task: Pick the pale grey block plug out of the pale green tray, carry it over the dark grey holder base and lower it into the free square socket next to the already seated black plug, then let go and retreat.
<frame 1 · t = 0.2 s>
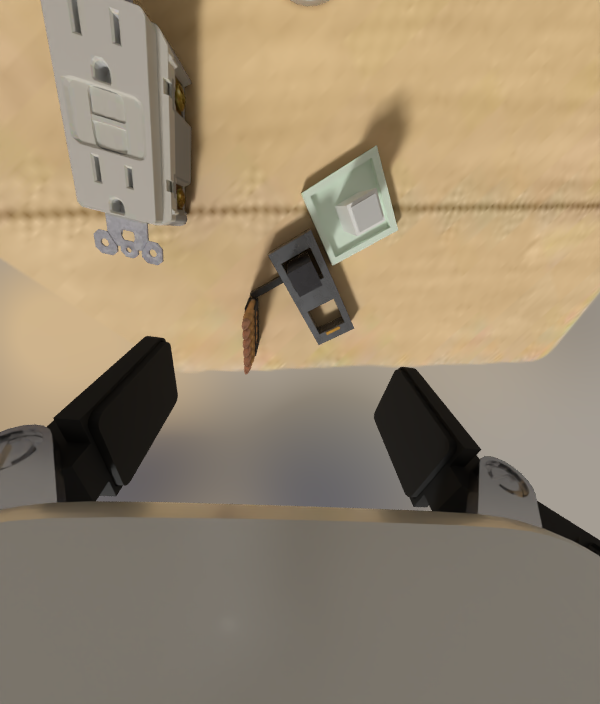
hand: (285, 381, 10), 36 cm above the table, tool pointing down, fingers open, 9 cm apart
grey plug: (350, 212, 37), point 1 cm above the table, touching tray
ammunition clip: (254, 322, 48), on the table
dark grey holder base: (313, 290, 45), on the table
tray: (349, 212, 38), on the table
electrical outlet: (153, 144, 32), on the table
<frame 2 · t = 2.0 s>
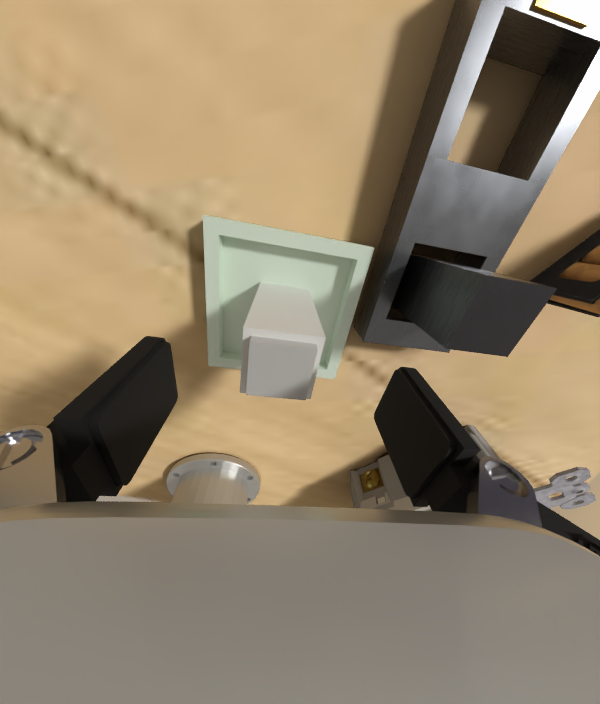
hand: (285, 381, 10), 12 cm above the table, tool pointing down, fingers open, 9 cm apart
grey plug: (282, 308, 20), point 1 cm above the table, touching tray
ammunition clip: (588, 245, 19), on the table
dark grey holder base: (441, 214, 17), on the table
tray: (282, 306, 20), on the table
electrical outlet: (411, 461, 34), on the table
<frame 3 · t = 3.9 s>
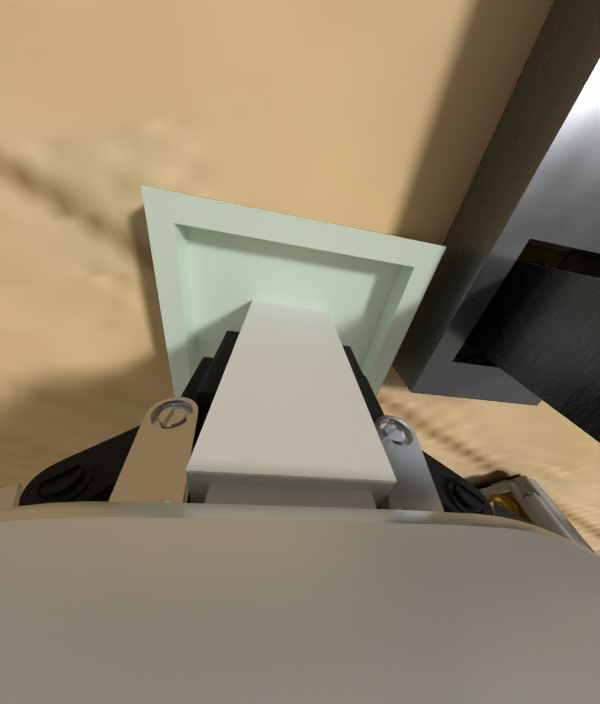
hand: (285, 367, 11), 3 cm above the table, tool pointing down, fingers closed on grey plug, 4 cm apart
grey plug: (286, 338, 13), point 1 cm above the table, touching gripper, tray
dark grey holder base: (556, 189, 10), on the table
tray: (286, 333, 13), on the table
electrical outlet: (442, 509, 27), on the table
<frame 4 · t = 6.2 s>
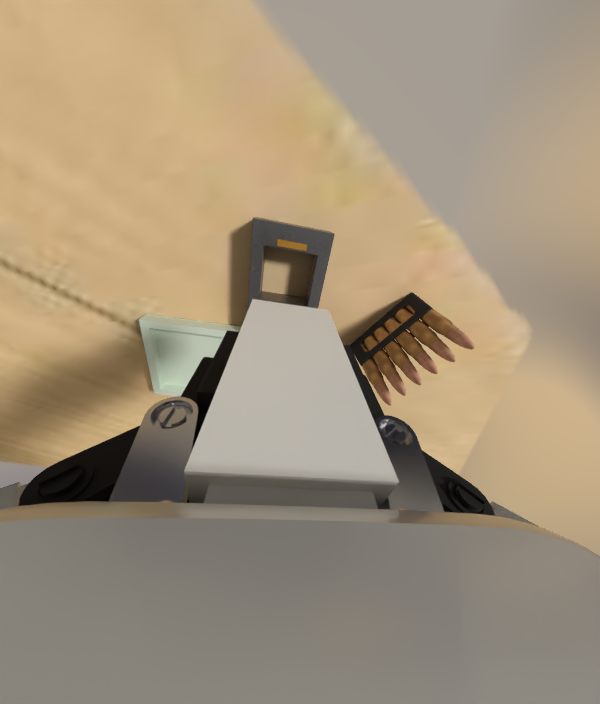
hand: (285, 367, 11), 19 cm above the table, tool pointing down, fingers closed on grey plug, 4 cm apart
grey plug: (286, 338, 13), point 17 cm above the table, touching gripper
ammunition clip: (382, 324, 32), on the table
dark grey holder base: (281, 311, 30), on the table
tray: (198, 358, 33), on the table
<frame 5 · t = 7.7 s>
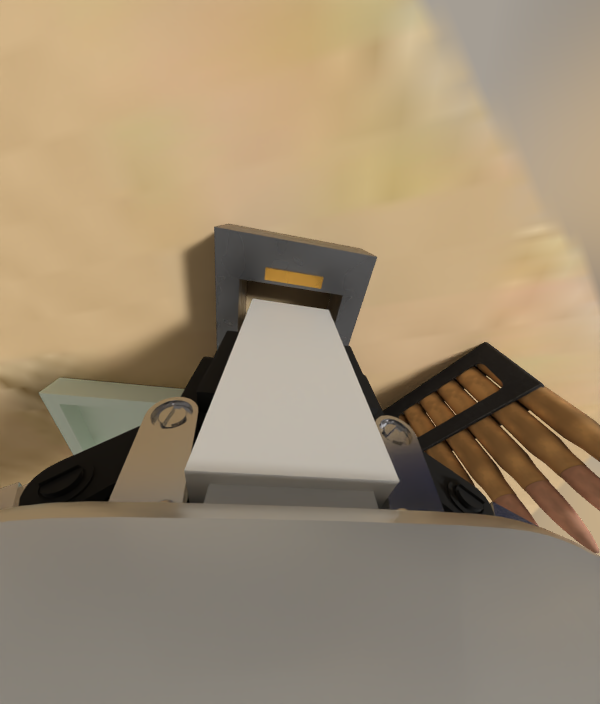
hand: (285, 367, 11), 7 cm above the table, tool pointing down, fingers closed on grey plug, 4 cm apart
grey plug: (286, 337, 13), point 4 cm above the table, touching gripper
ammunition clip: (431, 384, 21), on the table
dark grey holder base: (277, 370, 19), on the table
tray: (152, 432, 22), on the table
when the fingers open (4 cm above the table, at t = 8.9 s): grey plug drops 1 cm, resting in dark grey holder base.
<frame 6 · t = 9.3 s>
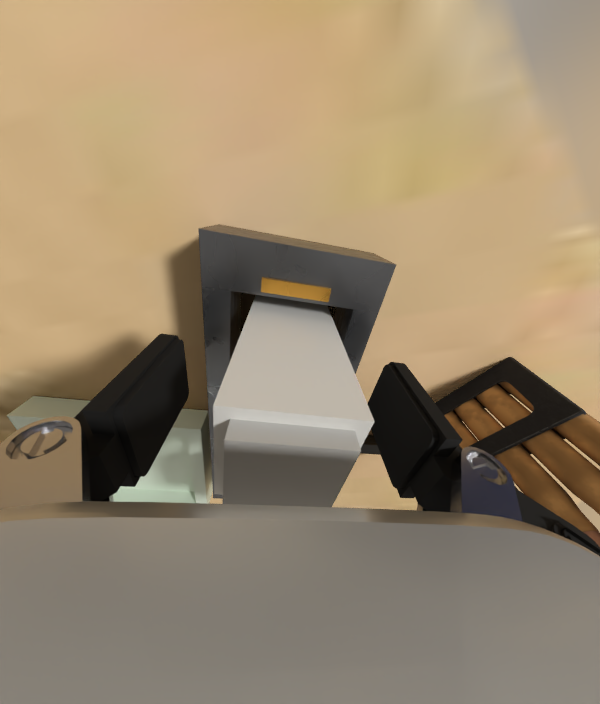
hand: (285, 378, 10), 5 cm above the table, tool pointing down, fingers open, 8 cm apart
grey plug: (286, 326, 14), resting in dark grey holder base
ammunition clip: (446, 401, 19), on the table
dark grey holder base: (276, 387, 17), on the table
tray: (140, 452, 20), on the table
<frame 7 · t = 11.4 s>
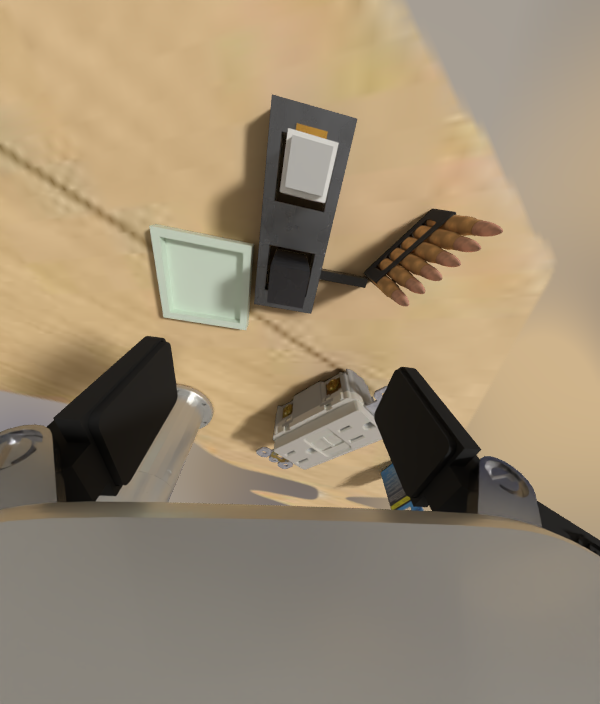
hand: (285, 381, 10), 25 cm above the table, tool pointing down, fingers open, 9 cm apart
grey plug: (304, 177, 26), resting in dark grey holder base
ammunition clip: (398, 247, 30), on the table
dark grey holder base: (295, 226, 29), on the table
tray: (208, 280, 32), on the table
electrical outlet: (322, 400, 47), on the table
label tape box: (395, 464, 60), on the table
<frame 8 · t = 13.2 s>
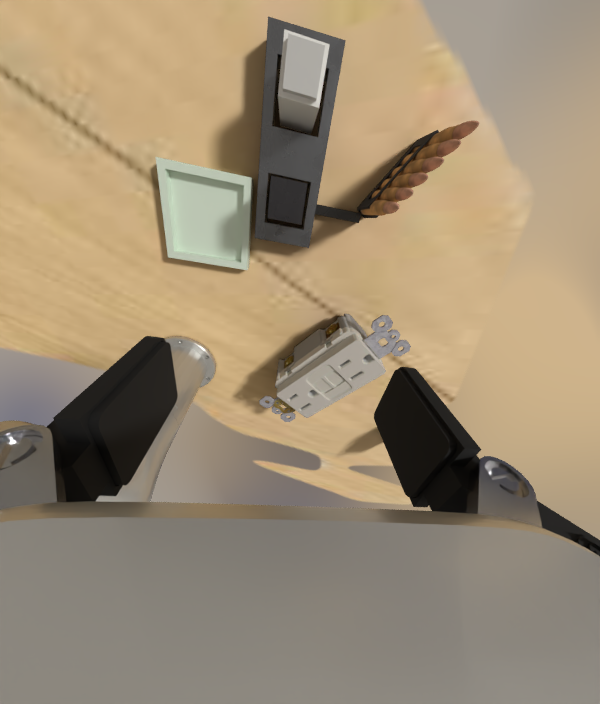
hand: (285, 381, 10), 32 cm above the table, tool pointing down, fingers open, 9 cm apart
grey plug: (298, 108, 28), resting in dark grey holder base
ammunition clip: (388, 181, 33), on the table
dark grey holder base: (292, 160, 31), on the table
tray: (210, 219, 34), on the table
electrical outlet: (322, 353, 48), on the table
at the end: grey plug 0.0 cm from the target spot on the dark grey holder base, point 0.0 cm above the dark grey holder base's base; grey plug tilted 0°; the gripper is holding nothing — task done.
